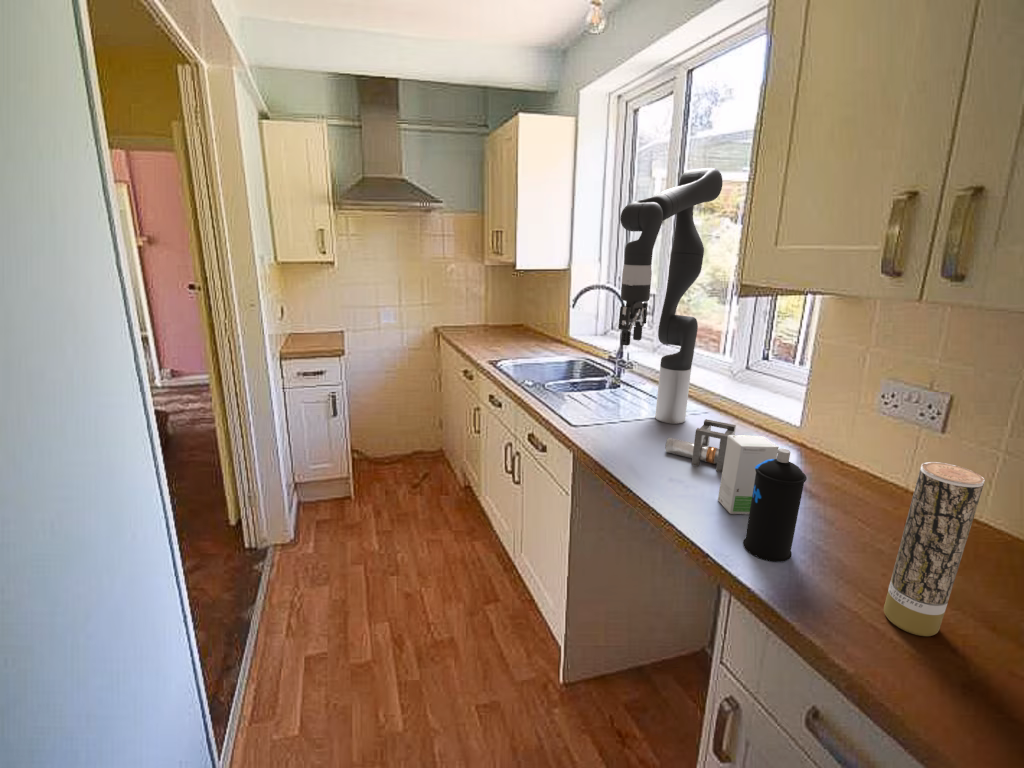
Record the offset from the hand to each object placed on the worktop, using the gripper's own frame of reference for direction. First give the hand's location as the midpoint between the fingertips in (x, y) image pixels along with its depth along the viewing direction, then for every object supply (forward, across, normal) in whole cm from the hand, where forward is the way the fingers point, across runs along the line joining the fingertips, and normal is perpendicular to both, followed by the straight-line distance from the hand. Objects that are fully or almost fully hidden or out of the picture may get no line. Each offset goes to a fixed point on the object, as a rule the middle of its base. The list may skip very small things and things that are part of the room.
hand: (631, 342), depth 138 cm
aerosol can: (+28, +36, +43) cm, 63 cm away
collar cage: (+28, +2, +25) cm, 38 cm away
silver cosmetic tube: (+28, +2, +21) cm, 35 cm away
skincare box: (+28, +22, +36) cm, 51 cm away
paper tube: (+28, +44, +64) cm, 83 cm away
